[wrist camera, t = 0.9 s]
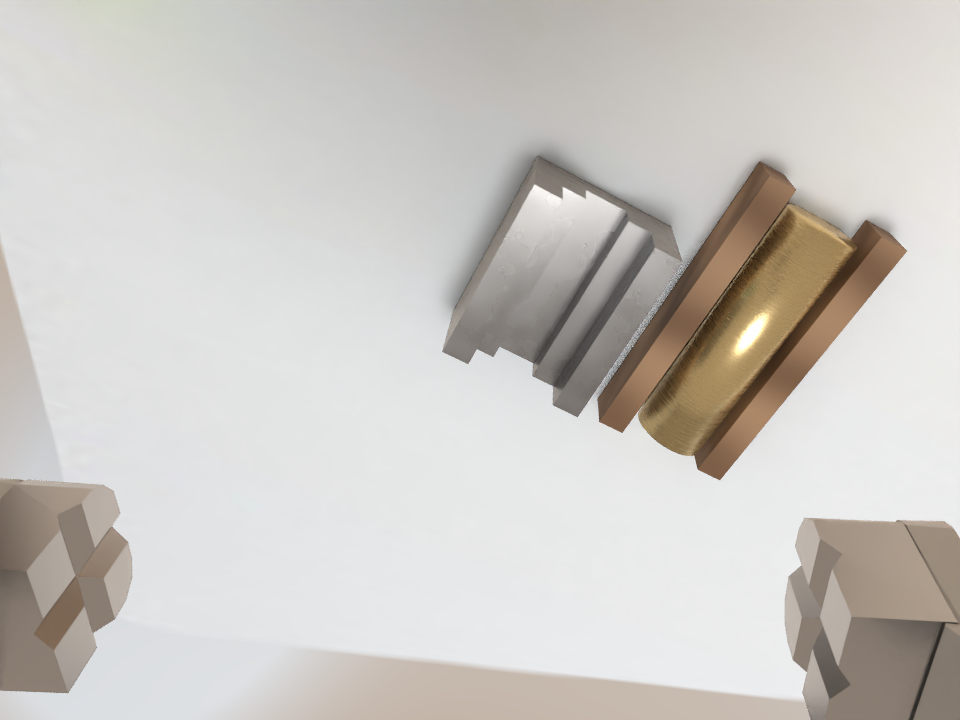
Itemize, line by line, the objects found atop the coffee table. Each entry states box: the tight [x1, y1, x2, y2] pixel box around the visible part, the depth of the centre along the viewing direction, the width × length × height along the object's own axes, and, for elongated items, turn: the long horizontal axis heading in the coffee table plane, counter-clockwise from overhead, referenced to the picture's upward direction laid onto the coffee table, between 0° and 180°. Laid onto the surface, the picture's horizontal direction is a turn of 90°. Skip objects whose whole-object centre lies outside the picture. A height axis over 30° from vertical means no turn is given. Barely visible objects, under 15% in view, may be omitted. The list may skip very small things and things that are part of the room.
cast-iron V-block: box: [442, 156, 682, 417], centre depth 45 cm, size 10×8×5 cm
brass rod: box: [638, 204, 858, 456], centre depth 46 cm, size 14×4×4 cm, turn 153°
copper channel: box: [598, 162, 907, 480], centre depth 46 cm, size 16×8×2 cm, turn 153°
